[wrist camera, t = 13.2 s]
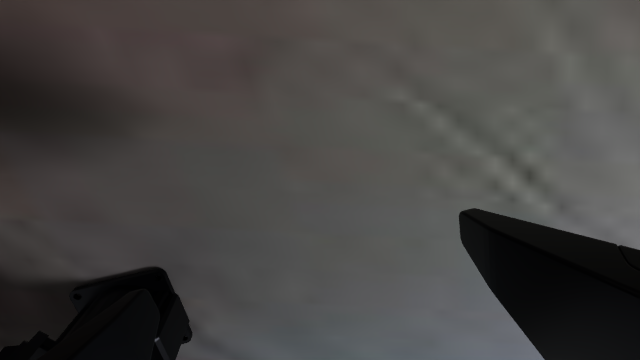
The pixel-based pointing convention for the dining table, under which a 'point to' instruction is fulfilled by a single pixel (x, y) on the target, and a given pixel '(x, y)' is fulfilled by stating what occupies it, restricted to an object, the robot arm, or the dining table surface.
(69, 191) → the dining table surface
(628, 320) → the robot arm
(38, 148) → the dining table surface
